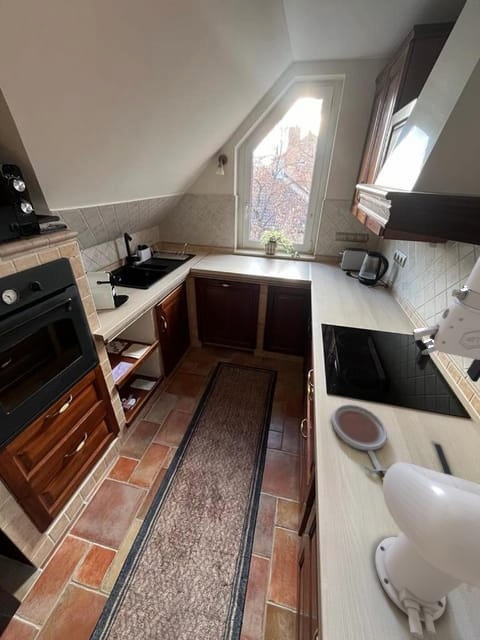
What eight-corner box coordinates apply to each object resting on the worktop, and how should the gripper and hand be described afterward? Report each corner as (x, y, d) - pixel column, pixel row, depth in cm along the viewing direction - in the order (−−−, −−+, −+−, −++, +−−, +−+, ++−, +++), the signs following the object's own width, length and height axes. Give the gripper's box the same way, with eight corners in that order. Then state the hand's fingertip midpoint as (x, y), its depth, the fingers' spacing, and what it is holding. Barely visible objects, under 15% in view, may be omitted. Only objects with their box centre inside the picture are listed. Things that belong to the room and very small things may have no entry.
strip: (454, 482, 70) (454, 482, 70) (447, 480, 71) (448, 480, 71) (439, 445, 80) (440, 445, 80) (434, 443, 81) (434, 443, 80)
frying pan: (360, 488, 66) (325, 402, 90) (357, 494, 67) (323, 408, 91) (423, 487, 67) (372, 402, 91) (419, 492, 68) (369, 408, 92)
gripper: (437, 300, 45) (403, 372, 54) (561, 318, 41) (502, 394, 49) (425, 285, 52) (397, 352, 60) (531, 300, 47) (484, 370, 56)
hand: (444, 371), depth 55 cm, fingers open, 9 cm apart
